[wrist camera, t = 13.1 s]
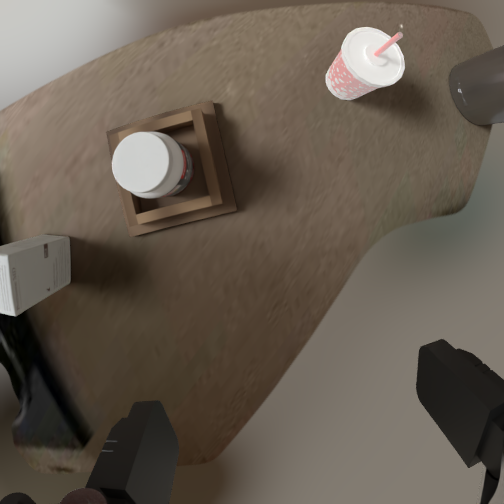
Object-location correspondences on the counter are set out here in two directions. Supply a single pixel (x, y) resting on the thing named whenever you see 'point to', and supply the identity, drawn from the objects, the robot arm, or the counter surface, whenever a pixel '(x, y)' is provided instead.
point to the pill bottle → (152, 165)
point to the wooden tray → (204, 179)
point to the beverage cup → (365, 63)
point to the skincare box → (32, 271)
